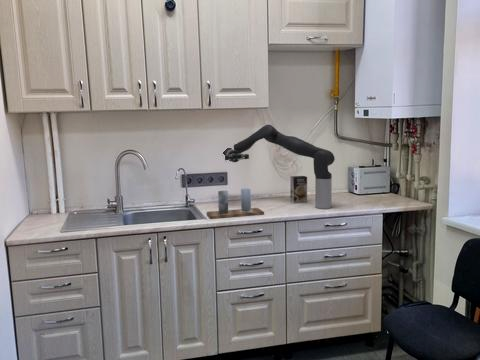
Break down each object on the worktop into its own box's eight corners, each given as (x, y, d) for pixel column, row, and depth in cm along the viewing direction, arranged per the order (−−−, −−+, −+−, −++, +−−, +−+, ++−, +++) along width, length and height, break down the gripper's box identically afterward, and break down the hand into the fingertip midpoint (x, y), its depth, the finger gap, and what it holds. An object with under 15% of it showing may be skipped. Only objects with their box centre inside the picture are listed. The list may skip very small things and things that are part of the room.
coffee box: (294, 203, 269) (293, 177, 267) (290, 201, 276) (289, 176, 273) (307, 202, 272) (307, 176, 269) (303, 200, 278) (303, 175, 276)
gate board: (257, 210, 252) (257, 187, 250) (264, 214, 240) (263, 190, 238) (206, 214, 245) (205, 190, 243) (210, 219, 233) (209, 194, 231)
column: (244, 209, 247) (243, 188, 246) (252, 210, 245) (251, 189, 243) (239, 211, 243) (239, 189, 241) (247, 211, 240) (247, 190, 239)
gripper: (221, 150, 269) (227, 152, 253) (244, 149, 272) (251, 150, 256) (222, 162, 270) (227, 164, 254) (244, 161, 273) (251, 163, 257)
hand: (239, 157), depth 255 cm, fingers open, 8 cm apart
